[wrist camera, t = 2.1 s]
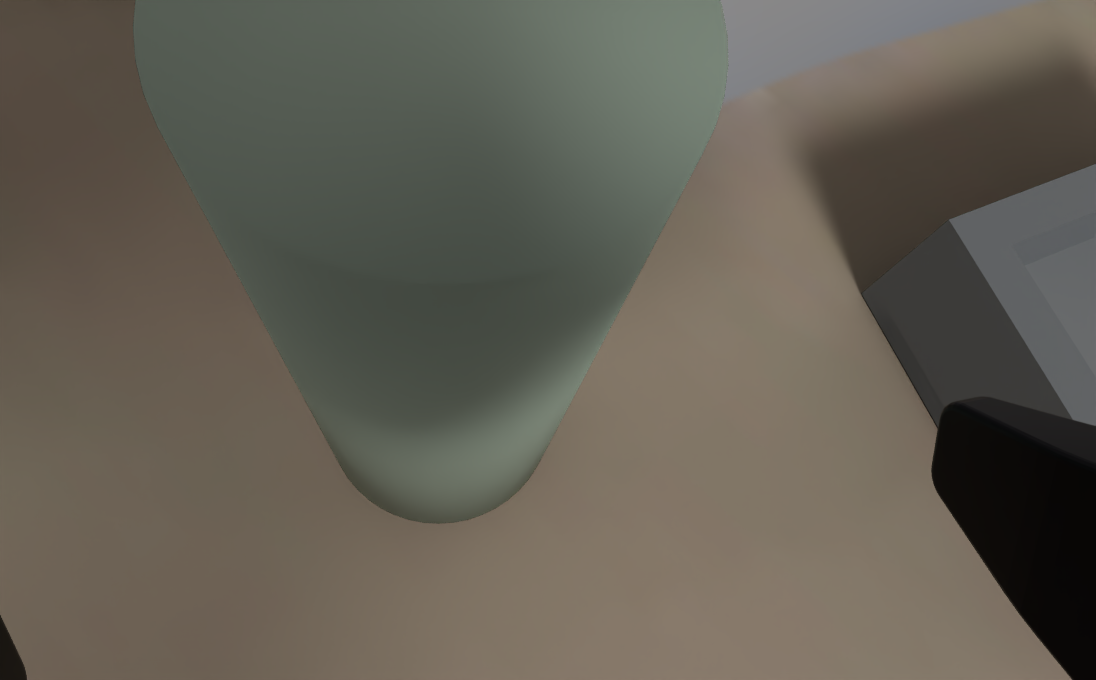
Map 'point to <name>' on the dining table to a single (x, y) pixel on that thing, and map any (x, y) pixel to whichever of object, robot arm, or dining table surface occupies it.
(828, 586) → the dining table surface
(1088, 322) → the gray square tray
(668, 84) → the sage peg
